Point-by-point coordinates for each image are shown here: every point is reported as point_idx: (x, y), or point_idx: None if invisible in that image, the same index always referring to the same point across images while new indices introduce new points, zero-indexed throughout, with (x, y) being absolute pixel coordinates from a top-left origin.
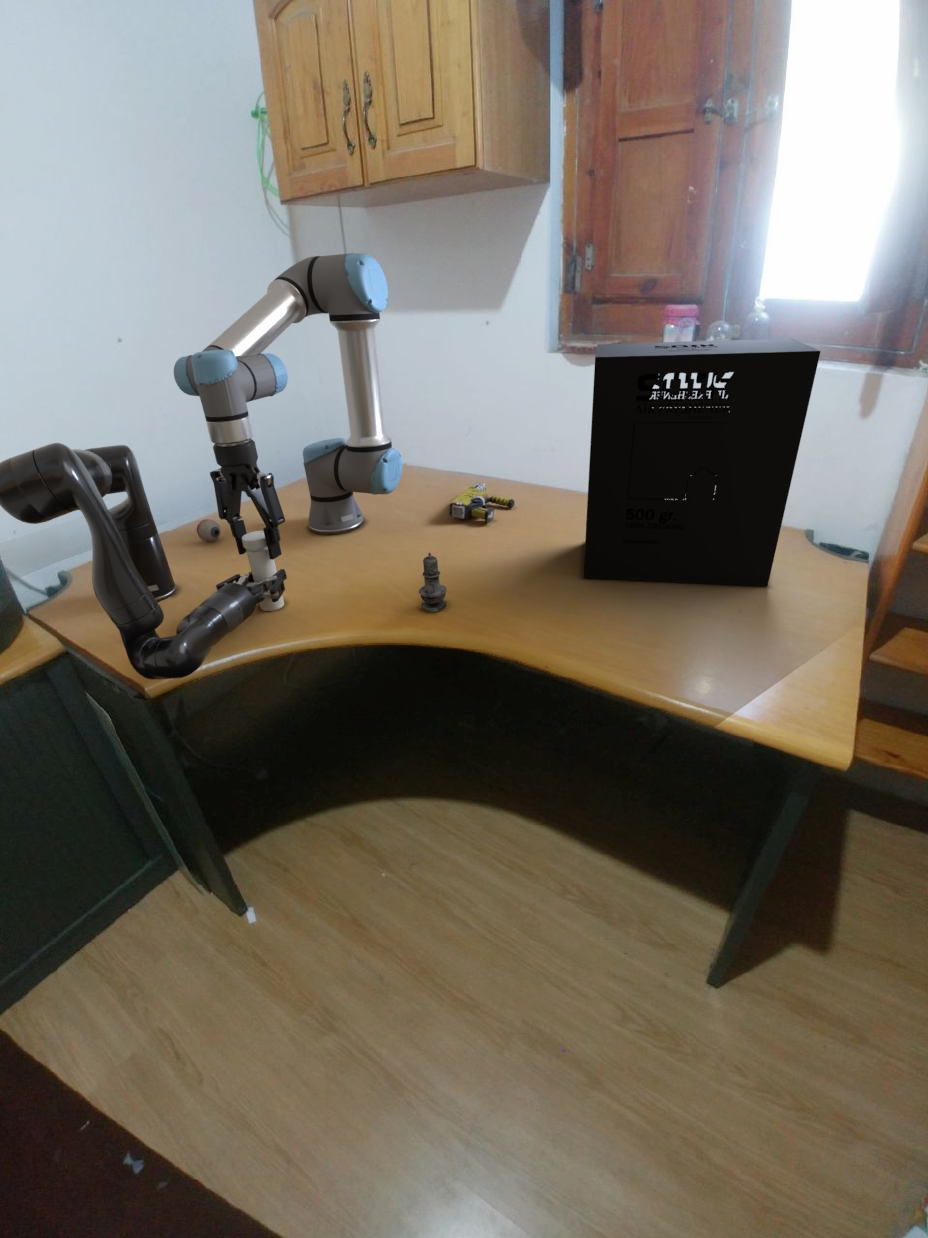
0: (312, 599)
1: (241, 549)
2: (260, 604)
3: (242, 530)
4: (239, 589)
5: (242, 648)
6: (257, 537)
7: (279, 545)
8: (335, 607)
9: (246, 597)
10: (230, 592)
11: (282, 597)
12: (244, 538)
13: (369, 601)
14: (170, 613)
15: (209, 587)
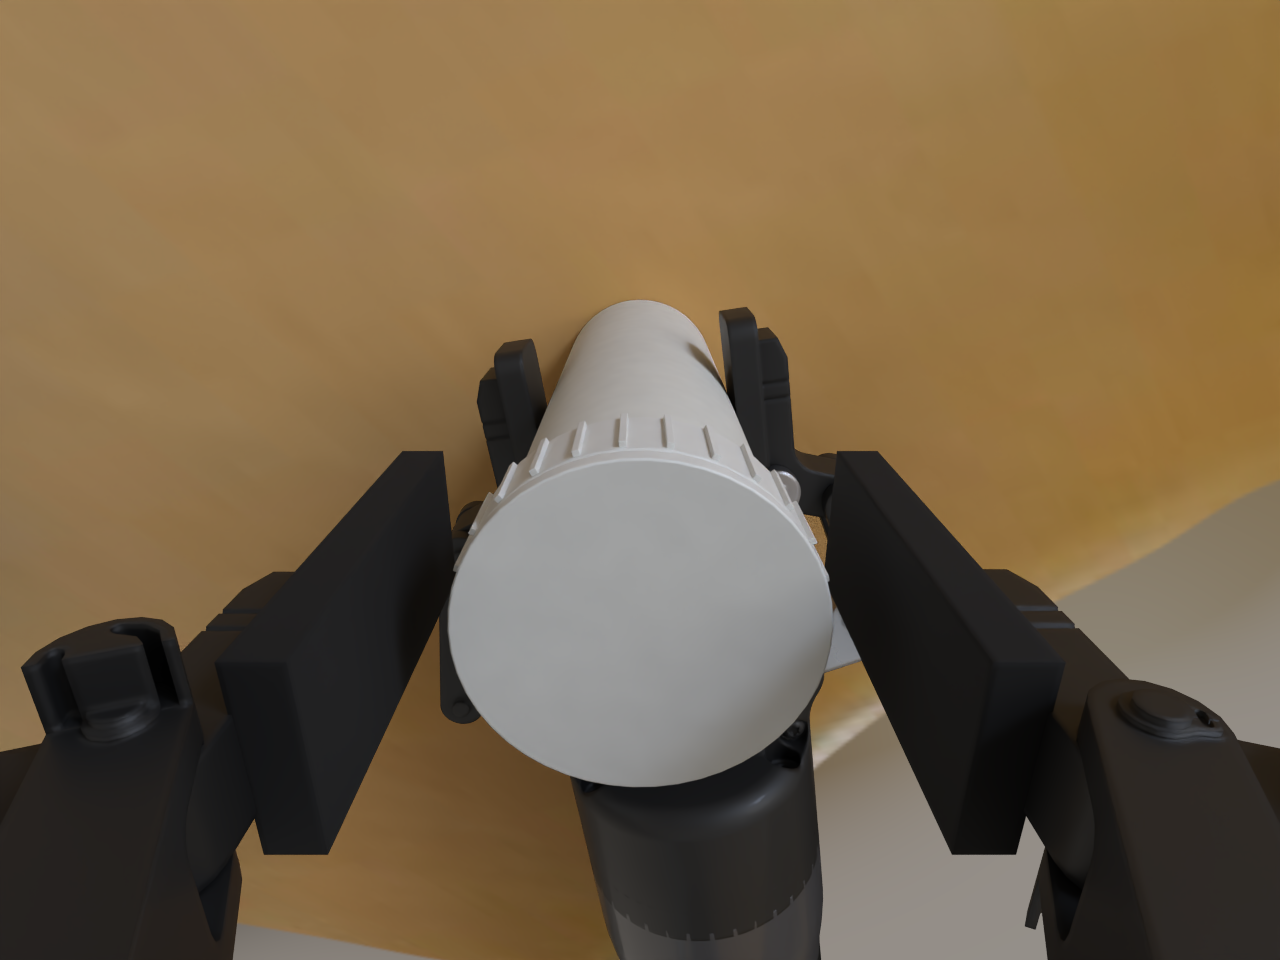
0: (848, 210)
1: (440, 594)
2: None
3: (365, 640)
4: (771, 843)
5: None
6: (706, 674)
7: (915, 498)
8: (1058, 256)
9: (810, 806)
10: (761, 908)
11: (706, 345)
12: (553, 741)
13: (1274, 95)
14: None
15: (30, 301)
